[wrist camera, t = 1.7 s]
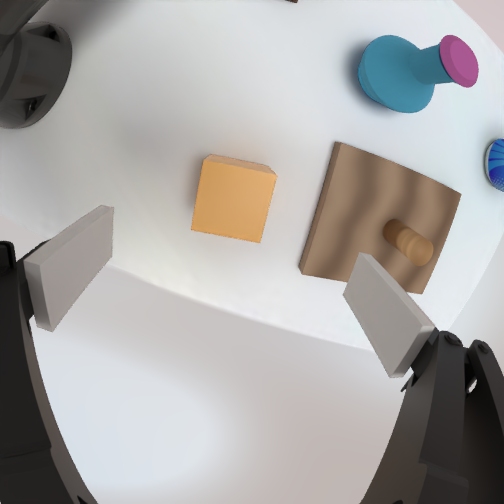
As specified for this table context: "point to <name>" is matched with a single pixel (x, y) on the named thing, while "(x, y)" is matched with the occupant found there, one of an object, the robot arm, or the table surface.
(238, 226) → the wooden toy cube
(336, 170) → the post board
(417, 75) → the perfume bottle
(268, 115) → the table surface
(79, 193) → the table surface
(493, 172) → the beer can
